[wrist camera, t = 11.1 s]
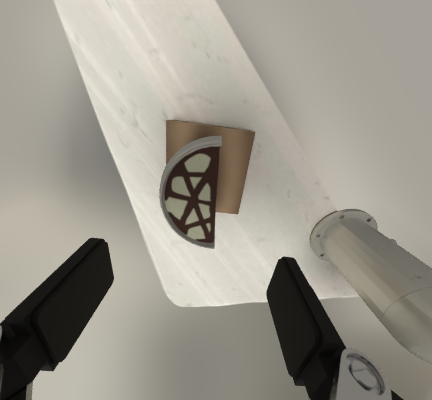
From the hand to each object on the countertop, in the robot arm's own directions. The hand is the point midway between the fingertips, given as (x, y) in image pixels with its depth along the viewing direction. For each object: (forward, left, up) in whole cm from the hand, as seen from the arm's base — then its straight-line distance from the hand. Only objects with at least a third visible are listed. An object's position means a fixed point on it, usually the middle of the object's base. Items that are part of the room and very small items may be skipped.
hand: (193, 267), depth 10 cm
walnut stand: (0, 0, -22) cm, 22 cm away
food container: (+2, 0, -18) cm, 18 cm away
